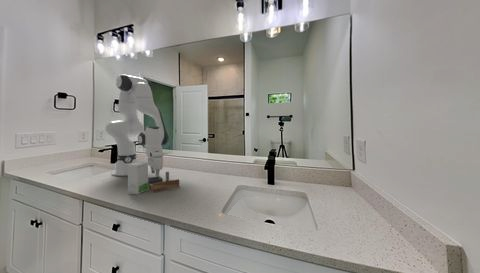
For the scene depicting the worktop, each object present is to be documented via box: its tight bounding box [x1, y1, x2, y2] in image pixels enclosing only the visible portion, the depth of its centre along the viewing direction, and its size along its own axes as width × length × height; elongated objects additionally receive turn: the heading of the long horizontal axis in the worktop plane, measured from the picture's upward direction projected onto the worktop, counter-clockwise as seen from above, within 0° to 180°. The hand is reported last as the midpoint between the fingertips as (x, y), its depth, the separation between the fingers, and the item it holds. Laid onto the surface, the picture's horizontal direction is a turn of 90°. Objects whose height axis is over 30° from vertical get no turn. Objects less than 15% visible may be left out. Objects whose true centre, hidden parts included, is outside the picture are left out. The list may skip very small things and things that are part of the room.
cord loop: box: [148, 175, 164, 187], centre depth 111 cm, size 6×8×3 cm
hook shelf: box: [148, 171, 180, 193], centre depth 105 cm, size 12×14×8 cm
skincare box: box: [127, 161, 149, 195], centre depth 97 cm, size 8×7×16 cm
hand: (155, 174), depth 110 cm, fingers open, 8 cm apart
